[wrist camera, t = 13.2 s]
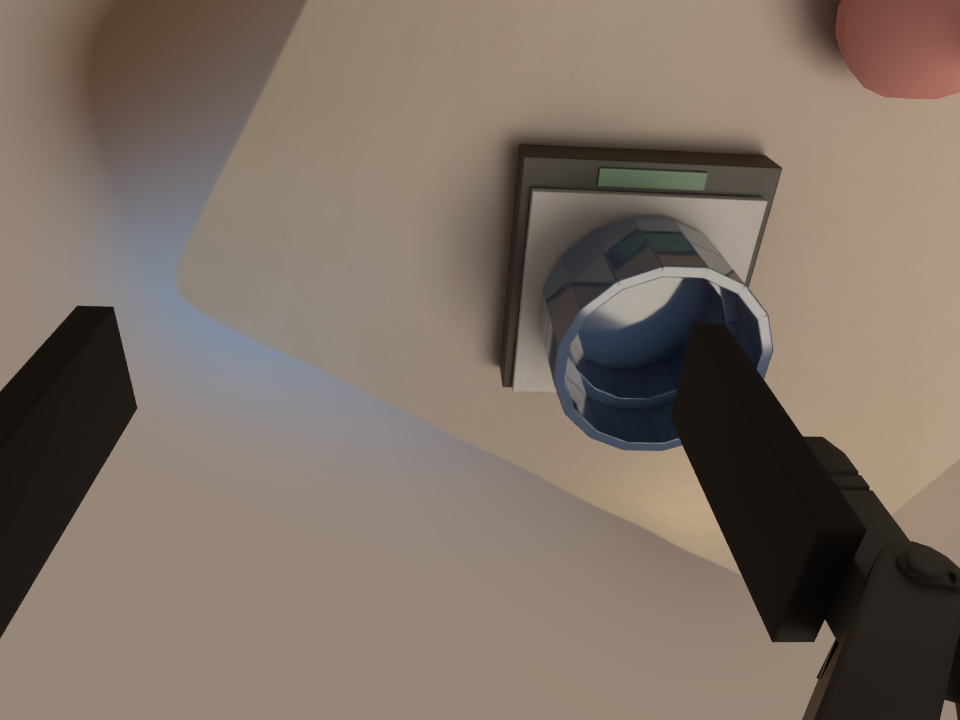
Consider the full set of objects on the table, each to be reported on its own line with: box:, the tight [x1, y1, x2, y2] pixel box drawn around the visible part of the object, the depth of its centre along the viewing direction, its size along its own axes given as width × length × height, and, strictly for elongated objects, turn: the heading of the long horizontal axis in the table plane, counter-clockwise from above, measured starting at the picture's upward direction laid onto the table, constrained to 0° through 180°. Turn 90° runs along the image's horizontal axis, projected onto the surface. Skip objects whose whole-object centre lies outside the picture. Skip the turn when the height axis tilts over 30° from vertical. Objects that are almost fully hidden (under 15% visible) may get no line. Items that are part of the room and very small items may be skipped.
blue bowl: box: [539, 217, 773, 451], centre depth 40 cm, size 11×11×7 cm
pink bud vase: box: [835, 0, 960, 99], centre depth 33 cm, size 8×8×12 cm
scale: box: [500, 144, 782, 392], centre depth 44 cm, size 15×14×3 cm
